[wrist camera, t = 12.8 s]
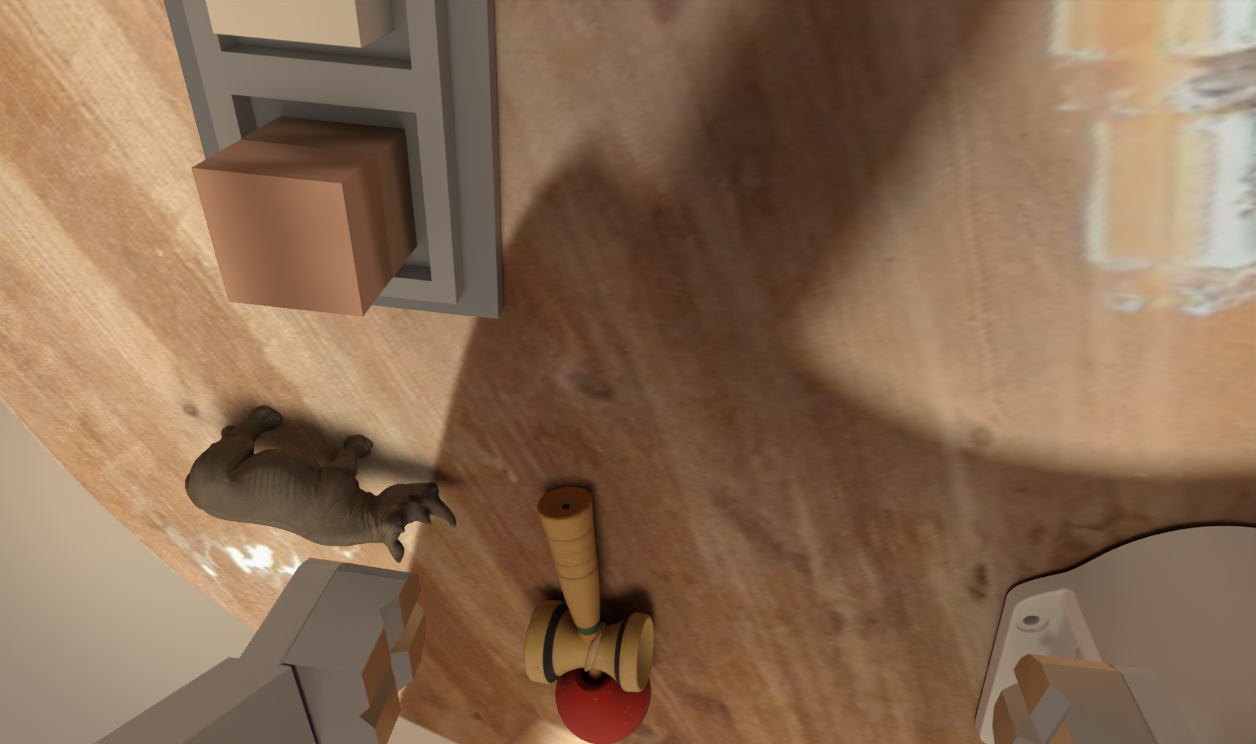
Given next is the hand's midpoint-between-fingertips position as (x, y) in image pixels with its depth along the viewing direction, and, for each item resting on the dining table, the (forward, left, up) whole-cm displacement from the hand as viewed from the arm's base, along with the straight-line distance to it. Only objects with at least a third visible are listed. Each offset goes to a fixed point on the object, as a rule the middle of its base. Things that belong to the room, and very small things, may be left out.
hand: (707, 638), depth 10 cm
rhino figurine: (-19, +17, -23) cm, 35 cm away
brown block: (-3, +14, -22) cm, 26 cm away
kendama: (-28, +4, -23) cm, 37 cm away
